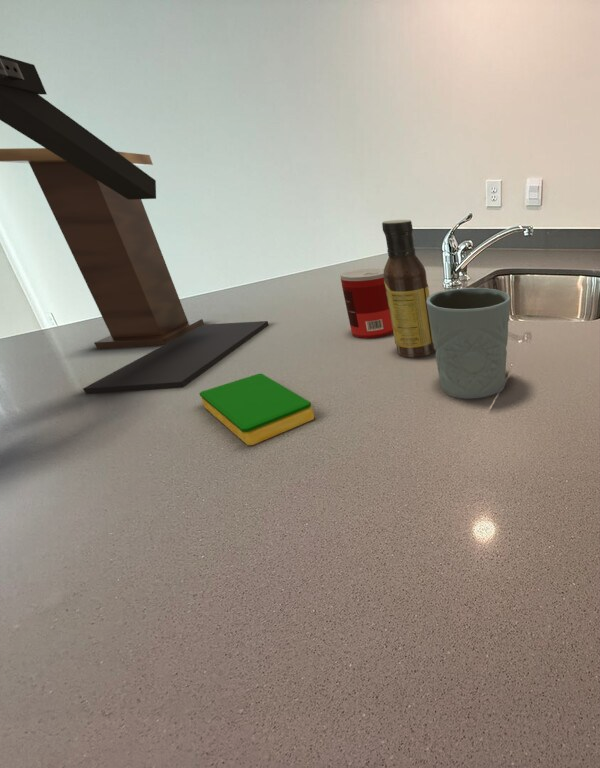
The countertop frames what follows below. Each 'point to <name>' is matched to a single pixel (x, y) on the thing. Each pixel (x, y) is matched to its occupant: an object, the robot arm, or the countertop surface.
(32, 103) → the long black bar
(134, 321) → the stand
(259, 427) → the dish sponge
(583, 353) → the countertop surface
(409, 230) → the sauce bottle
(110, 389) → the black base pad
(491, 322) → the grey cup
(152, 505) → the countertop surface
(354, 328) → the canned food
